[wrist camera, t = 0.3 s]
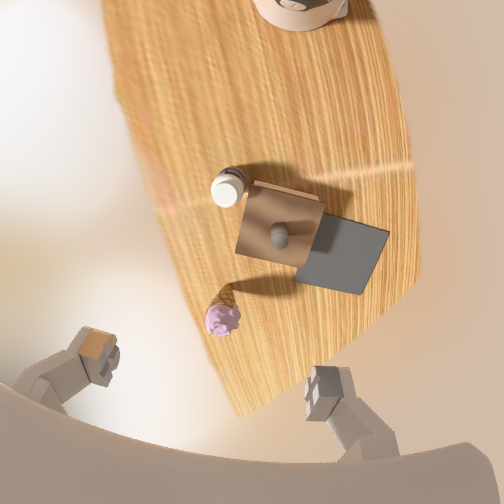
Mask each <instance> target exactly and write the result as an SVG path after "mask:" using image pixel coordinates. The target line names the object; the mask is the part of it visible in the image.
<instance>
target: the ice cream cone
mask: <svg viewBox="0 0 504 504" xmlns="http://www.w3.org/2000/svg"><path fill="white" fill-rule="evenodd" d="M240 317H241V314H240V311H239V310H238V306H237V305H236V303H235V298H234V295H233V291H232V288H231V285H230V284H226V285H225V286H224V287H223V288H222V289H221V290H220V292H219V293H218V294H217V295H216V297H215V298H214V299H213V301H212V302H211V304H210V306H209V307H208V309H207V311H206V322H205V324H206V329H207V331H208V333H209V334H212V333H213V332H214V333H215V334H216V335H218V336H228V335H230V333H231V330H233V329H237V328H238V326H239V324H238V320H239V319H240Z"/></svg>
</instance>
